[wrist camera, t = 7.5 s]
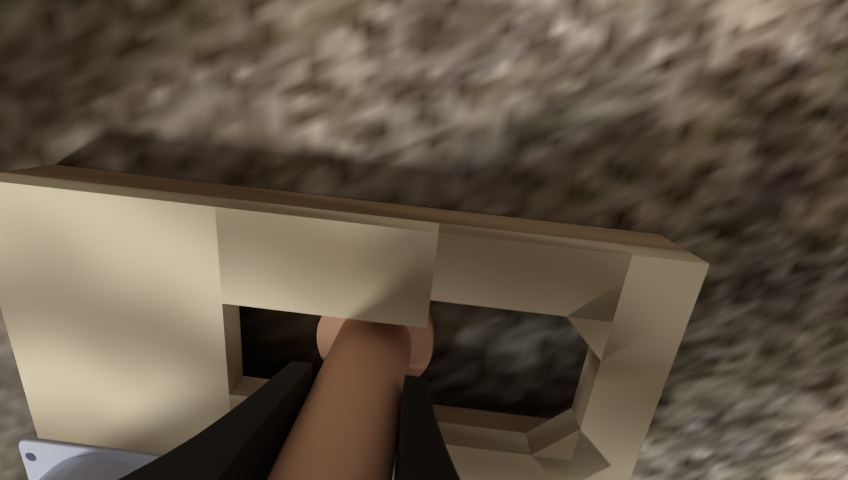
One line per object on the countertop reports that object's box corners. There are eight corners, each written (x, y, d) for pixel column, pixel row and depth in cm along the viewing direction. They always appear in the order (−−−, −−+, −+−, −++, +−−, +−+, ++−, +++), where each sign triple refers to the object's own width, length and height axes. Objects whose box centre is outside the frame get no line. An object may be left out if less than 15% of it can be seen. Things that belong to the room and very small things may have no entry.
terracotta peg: (428, 380, 16) (402, 762, 7) (323, 368, 16) (153, 728, 7) (439, 285, 15) (427, 600, 5) (325, 272, 15) (113, 558, 5)
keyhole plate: (590, 450, 17) (617, 513, 14) (99, 387, 17) (38, 437, 15) (659, 234, 14) (709, 264, 11) (54, 164, 14) (-37, 177, 12)
